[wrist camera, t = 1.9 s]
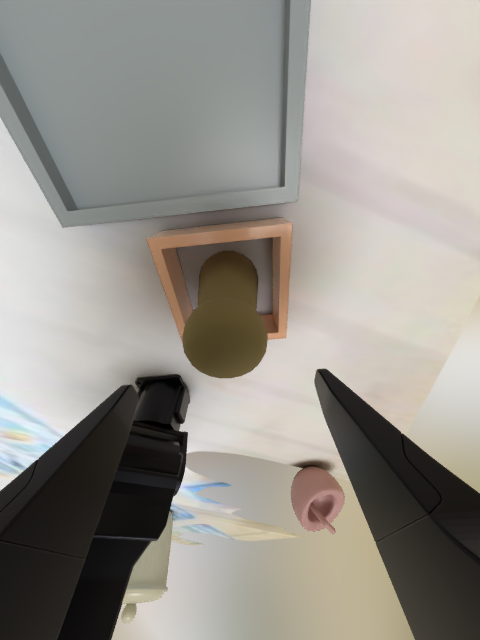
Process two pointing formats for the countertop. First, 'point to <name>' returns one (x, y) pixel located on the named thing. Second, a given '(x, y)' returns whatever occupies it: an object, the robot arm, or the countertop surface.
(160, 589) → the canister
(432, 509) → the robot arm
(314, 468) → the mortar and pestle
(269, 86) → the tray
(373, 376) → the countertop surface
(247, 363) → the olive tapered piece
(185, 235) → the holder
